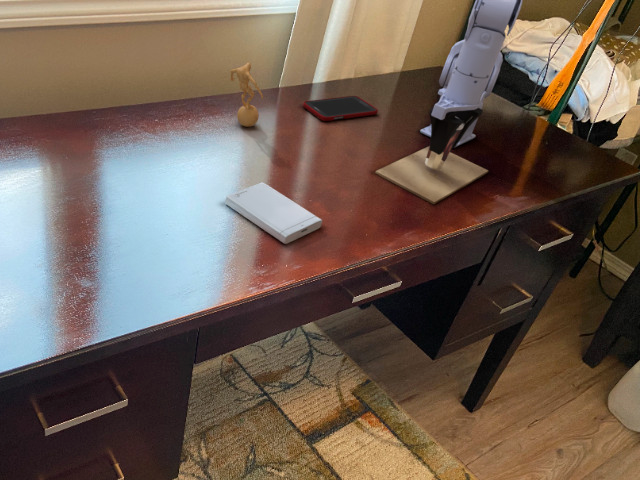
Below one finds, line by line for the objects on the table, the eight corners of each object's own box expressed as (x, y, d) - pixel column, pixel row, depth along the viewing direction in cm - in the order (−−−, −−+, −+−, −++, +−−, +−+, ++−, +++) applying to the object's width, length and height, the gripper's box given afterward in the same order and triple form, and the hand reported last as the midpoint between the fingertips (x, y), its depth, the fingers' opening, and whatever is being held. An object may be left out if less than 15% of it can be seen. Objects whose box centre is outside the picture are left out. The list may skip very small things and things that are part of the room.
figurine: (269, 132, 113) (280, 68, 106) (245, 139, 110) (255, 73, 102) (239, 114, 117) (248, 51, 110) (215, 120, 114) (223, 56, 106)
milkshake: (451, 174, 107) (474, 120, 101) (421, 167, 107) (442, 113, 101) (449, 163, 111) (471, 111, 104) (420, 157, 111) (440, 104, 105)
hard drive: (225, 195, 91) (286, 235, 85) (263, 181, 96) (323, 218, 90) (224, 205, 92) (284, 245, 86) (262, 190, 97) (321, 227, 91)
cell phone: (378, 114, 127) (380, 110, 126) (323, 122, 120) (324, 117, 119) (355, 99, 131) (356, 95, 131) (300, 106, 125) (301, 101, 124)
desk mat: (432, 146, 119) (433, 144, 118) (487, 173, 113) (488, 170, 113) (374, 173, 107) (375, 170, 106) (433, 204, 101) (434, 202, 101)
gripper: (471, 56, 104) (443, 130, 113) (428, 69, 96) (401, 148, 104) (508, 70, 101) (476, 145, 110) (467, 86, 92) (436, 166, 101)
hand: (442, 148), depth 107 cm, fingers closed on milkshake, 4 cm apart
